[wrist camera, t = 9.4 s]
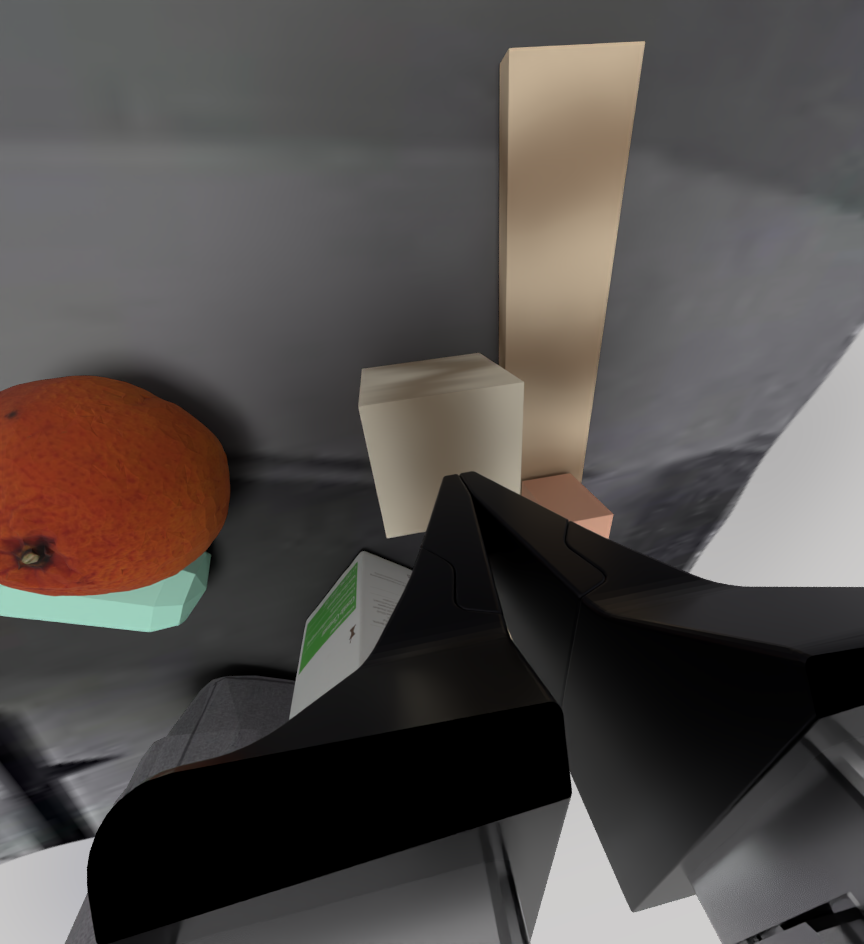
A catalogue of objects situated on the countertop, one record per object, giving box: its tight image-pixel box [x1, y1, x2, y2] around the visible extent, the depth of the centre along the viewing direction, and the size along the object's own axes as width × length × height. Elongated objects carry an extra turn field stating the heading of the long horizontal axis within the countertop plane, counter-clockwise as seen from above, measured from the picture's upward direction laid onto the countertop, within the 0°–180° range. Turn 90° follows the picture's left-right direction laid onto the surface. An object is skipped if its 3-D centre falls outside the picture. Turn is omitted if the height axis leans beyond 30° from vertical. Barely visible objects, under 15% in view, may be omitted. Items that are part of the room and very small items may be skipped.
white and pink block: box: [522, 473, 613, 539], centre depth 21 cm, size 12×3×4 cm, turn 6°
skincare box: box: [289, 551, 412, 720], centre depth 18 cm, size 8×7×16 cm
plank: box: [499, 41, 645, 639], centre depth 20 cm, size 33×5×1 cm, turn 6°
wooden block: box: [358, 353, 524, 538], centre depth 16 cm, size 6×6×6 cm
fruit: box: [0, 375, 230, 596], centre depth 14 cm, size 9×9×8 cm
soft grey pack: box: [65, 675, 296, 944], centre depth 19 cm, size 15×8×20 cm, turn 54°
